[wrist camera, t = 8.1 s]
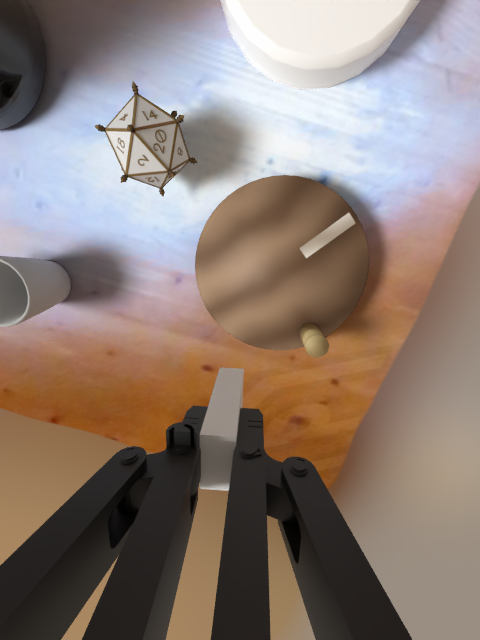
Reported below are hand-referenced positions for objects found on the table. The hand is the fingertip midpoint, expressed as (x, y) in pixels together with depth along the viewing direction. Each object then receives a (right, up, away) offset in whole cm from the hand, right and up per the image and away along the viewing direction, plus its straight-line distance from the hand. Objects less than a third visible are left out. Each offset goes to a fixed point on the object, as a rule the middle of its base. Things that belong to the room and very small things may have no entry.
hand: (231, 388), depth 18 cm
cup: (-26, +10, +20) cm, 34 cm away
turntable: (+5, +11, +18) cm, 22 cm away
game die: (-8, +23, +16) cm, 29 cm away
